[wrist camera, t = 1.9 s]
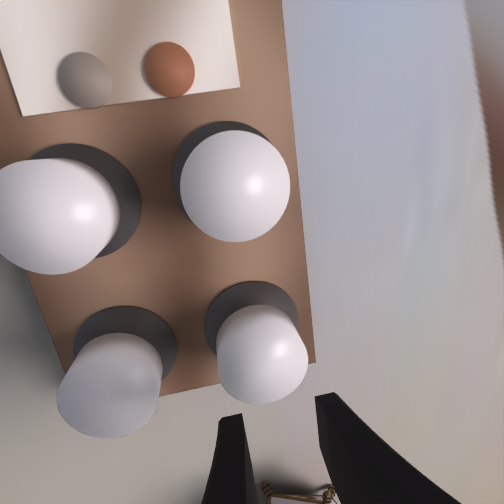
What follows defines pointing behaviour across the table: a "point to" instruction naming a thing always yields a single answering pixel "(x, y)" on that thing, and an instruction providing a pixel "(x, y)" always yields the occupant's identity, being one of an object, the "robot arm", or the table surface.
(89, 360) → the button
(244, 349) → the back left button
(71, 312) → the button board
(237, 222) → the button
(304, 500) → the game die
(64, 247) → the button
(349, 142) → the table surface
